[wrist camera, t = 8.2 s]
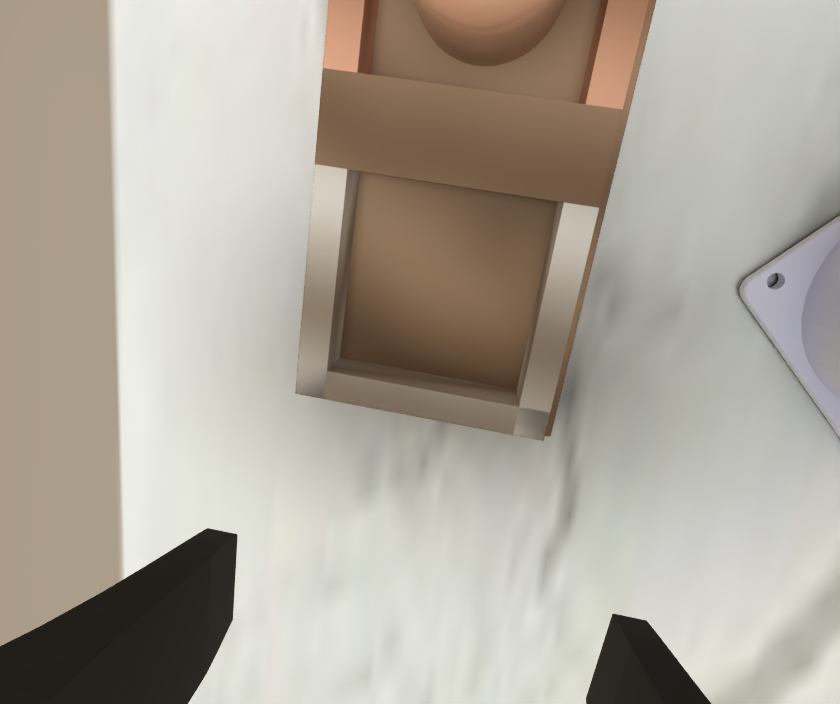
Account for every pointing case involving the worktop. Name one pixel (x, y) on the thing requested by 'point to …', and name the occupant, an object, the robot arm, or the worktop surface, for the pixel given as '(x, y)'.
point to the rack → (460, 212)
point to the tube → (488, 27)
